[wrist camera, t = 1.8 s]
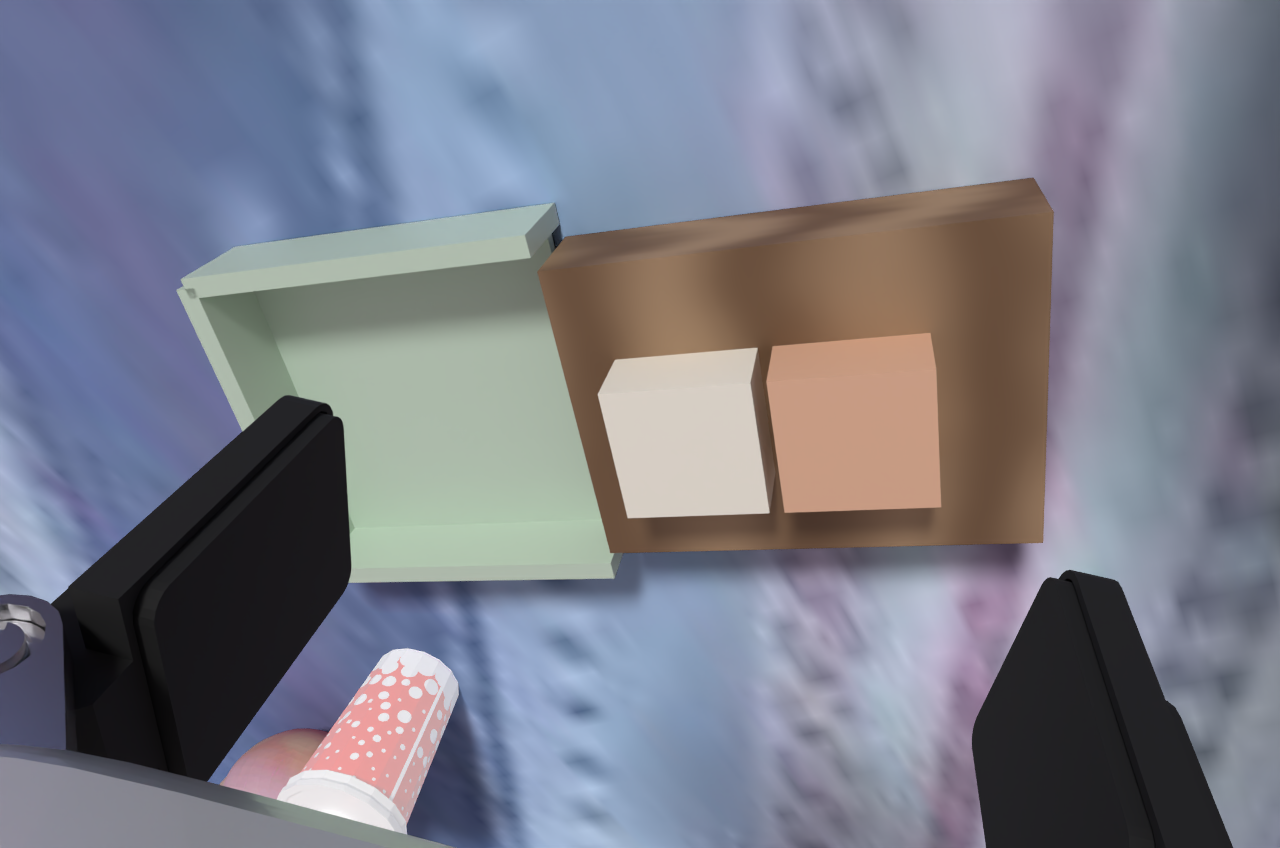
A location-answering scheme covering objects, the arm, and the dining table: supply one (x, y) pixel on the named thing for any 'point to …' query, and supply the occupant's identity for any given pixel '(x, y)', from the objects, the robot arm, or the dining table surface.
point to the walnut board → (832, 311)
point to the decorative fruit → (274, 762)
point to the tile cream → (690, 434)
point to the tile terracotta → (856, 424)
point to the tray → (420, 389)
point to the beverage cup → (380, 744)
